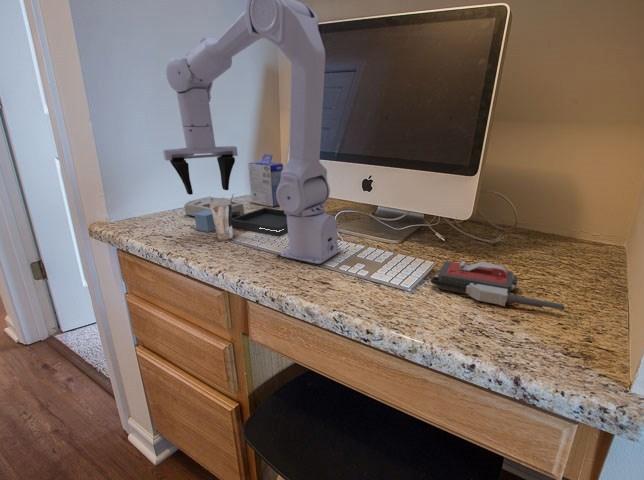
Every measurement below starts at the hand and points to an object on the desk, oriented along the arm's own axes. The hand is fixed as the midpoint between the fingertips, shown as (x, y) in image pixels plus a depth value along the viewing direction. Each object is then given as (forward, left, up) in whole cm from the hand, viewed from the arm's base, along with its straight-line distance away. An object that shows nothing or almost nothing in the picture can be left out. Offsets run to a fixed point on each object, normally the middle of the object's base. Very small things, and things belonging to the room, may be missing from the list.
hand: (208, 191), depth 83 cm
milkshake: (-4, 0, -10) cm, 11 cm away
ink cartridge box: (+9, -30, -10) cm, 33 cm away
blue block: (+5, -3, -10) cm, 12 cm away
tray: (-6, -13, -10) cm, 17 cm away
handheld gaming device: (+13, -12, -10) cm, 21 cm away
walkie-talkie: (-63, +1, -10) cm, 64 cm away
